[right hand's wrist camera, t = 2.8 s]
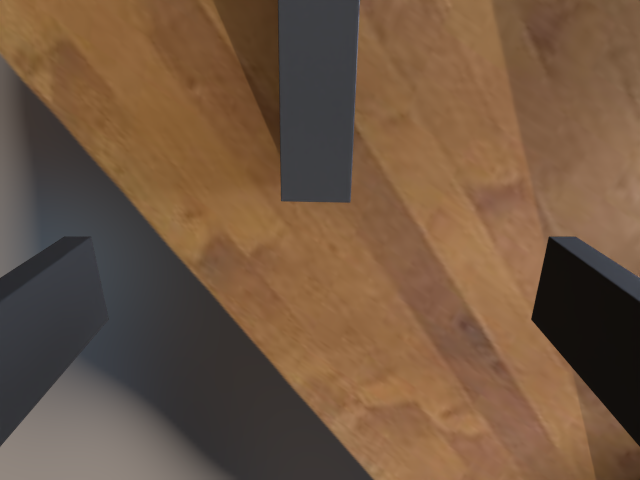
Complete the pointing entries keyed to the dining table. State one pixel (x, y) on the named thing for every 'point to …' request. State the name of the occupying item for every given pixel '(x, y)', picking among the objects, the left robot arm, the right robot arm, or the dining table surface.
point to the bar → (317, 98)
